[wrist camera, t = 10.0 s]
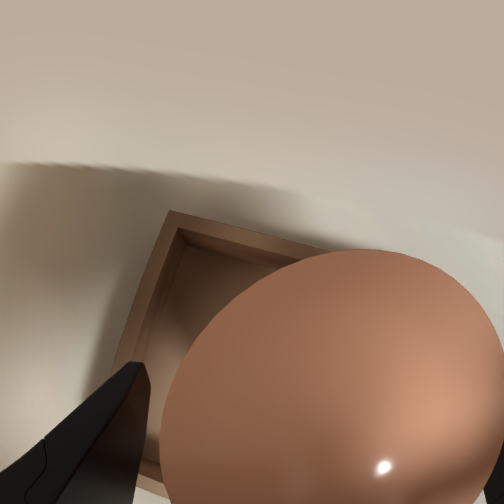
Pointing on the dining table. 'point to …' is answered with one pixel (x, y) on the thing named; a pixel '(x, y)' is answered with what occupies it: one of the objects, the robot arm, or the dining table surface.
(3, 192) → the dining table surface
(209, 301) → the box
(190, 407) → the terracotta cylinder
